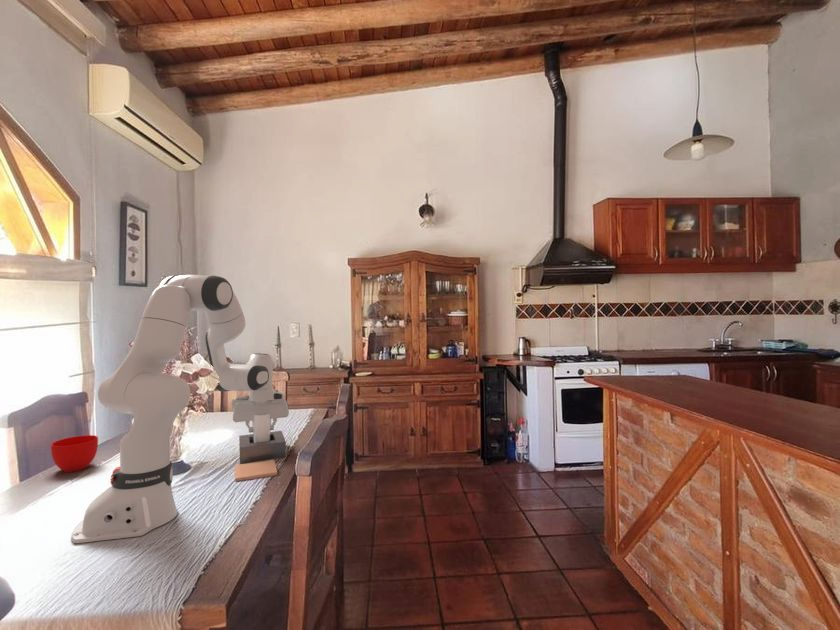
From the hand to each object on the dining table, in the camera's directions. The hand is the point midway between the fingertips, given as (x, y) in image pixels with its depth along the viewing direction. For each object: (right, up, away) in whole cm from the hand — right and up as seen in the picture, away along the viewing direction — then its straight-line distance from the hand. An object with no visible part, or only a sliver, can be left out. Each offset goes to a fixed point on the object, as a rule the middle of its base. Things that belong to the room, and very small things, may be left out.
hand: (261, 430), depth 163 cm
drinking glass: (0, -8, 0) cm, 8 cm away
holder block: (0, -9, 0) cm, 9 cm away
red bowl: (-62, -10, -11) cm, 64 cm away
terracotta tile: (+5, -9, -17) cm, 20 cm away
